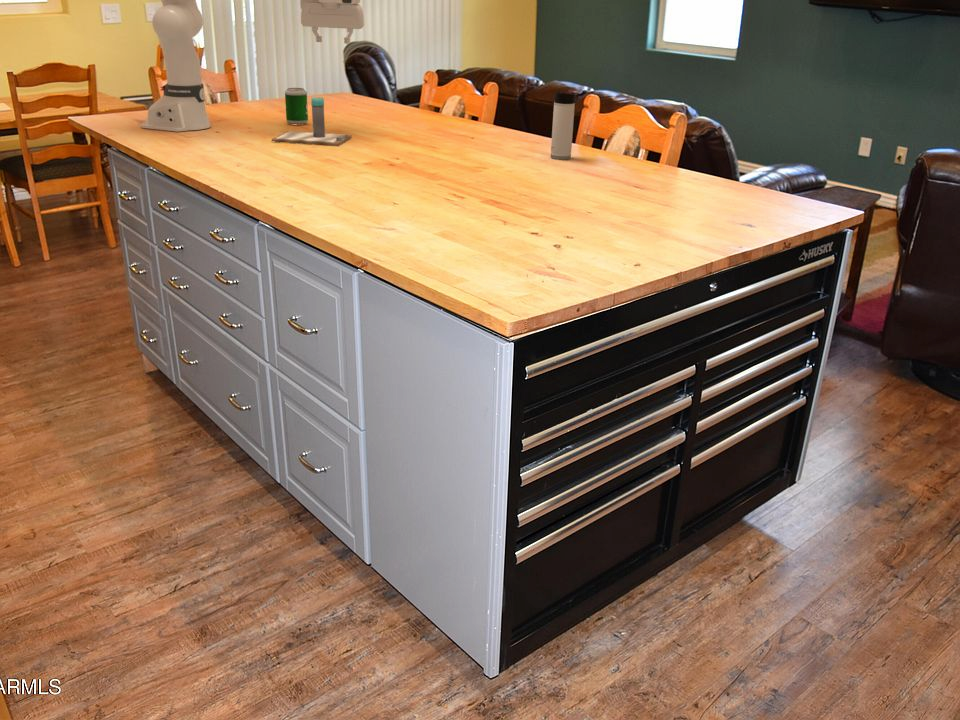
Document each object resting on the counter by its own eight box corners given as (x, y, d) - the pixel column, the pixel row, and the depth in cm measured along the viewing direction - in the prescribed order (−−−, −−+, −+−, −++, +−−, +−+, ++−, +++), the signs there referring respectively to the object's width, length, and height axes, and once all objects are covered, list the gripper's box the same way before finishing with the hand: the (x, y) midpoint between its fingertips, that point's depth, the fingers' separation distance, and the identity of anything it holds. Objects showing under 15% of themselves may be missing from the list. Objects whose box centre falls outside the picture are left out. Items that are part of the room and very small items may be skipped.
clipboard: (271, 141, 287) (271, 136, 286) (287, 133, 301) (287, 128, 300) (338, 146, 284) (338, 140, 284) (351, 137, 298) (351, 132, 297)
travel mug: (546, 158, 278) (551, 91, 269) (555, 154, 283) (559, 89, 275) (565, 161, 275) (570, 93, 267) (573, 157, 280) (578, 91, 272)
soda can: (305, 126, 314) (304, 90, 309) (284, 125, 314) (282, 89, 309) (310, 122, 321) (308, 87, 316) (289, 121, 321) (287, 86, 316)
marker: (311, 137, 291) (309, 99, 286) (315, 134, 295) (313, 97, 290) (323, 137, 291) (321, 99, 286) (327, 135, 294) (325, 97, 289)
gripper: (296, -5, 284) (298, 41, 290) (359, -2, 282) (360, 45, 288) (303, -5, 290) (305, 40, 296) (365, -3, 288) (365, 43, 293)
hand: (333, 42), depth 292 cm, fingers open, 8 cm apart
